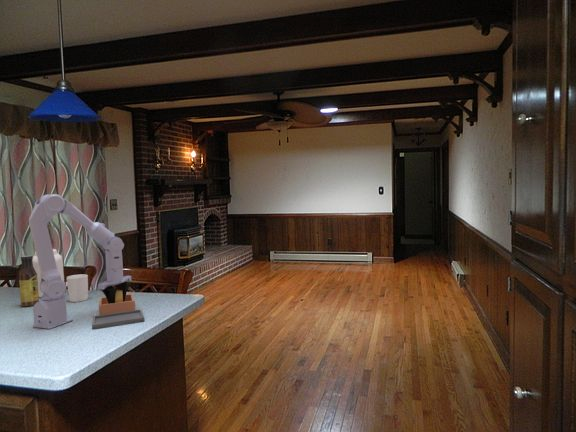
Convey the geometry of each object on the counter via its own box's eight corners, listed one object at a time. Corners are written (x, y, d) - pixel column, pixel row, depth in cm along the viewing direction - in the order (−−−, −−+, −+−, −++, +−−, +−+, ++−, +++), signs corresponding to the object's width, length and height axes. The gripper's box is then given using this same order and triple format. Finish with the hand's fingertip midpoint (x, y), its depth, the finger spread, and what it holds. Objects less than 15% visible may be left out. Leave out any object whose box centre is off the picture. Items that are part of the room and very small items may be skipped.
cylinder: (117, 310, 153) (116, 293, 152) (108, 309, 154) (107, 292, 154) (126, 307, 157) (125, 290, 156) (116, 306, 159) (115, 289, 158)
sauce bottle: (37, 305, 166) (33, 256, 164) (19, 307, 163) (15, 258, 162) (40, 301, 172) (37, 254, 170) (23, 303, 169) (19, 255, 168)
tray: (144, 321, 140) (144, 317, 140) (92, 329, 134) (92, 325, 134) (141, 313, 150) (141, 309, 150) (93, 320, 144) (92, 316, 144)
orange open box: (135, 311, 153) (134, 300, 152) (99, 316, 148) (98, 305, 148) (133, 303, 164) (132, 293, 163) (99, 308, 159) (99, 297, 159)
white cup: (93, 297, 176) (91, 274, 175) (82, 302, 168) (80, 278, 168) (75, 297, 177) (74, 274, 176) (64, 302, 169) (62, 278, 168)
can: (48, 298, 177) (45, 252, 175) (25, 297, 180) (22, 251, 179) (71, 291, 189) (68, 247, 187) (49, 290, 192) (46, 247, 191)
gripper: (108, 272, 146) (110, 310, 147) (136, 265, 160) (138, 299, 161) (92, 271, 149) (95, 308, 150) (122, 264, 163) (124, 298, 163)
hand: (116, 304), depth 156 cm, fingers closed on cylinder, 4 cm apart
